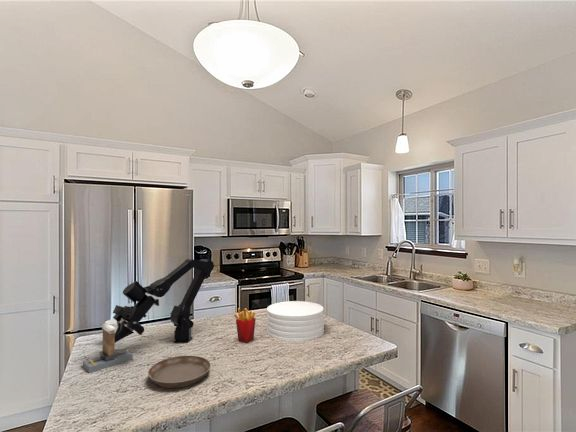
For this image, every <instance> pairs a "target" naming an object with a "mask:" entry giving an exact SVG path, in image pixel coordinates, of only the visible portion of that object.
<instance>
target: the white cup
mask: <svg viewBox="0 0 576 432" xmlns="http://www.w3.org/2000/svg"><path fill="white" fill-rule="evenodd" d="M117 322H118V321H116V320H115V319H114V318H111V319H108V320H106V321H105V322H104V323H108V324H110V325H112V326H113V327H115V332H116V330H117V328H118V326H117ZM121 343H122V344H123V343H124V338H123V339H121V340H119V341H117V342H115V346H119V345H121Z"/></svg>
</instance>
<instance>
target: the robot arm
mask: <svg viewBox="0 0 576 432" xmlns="http://www.w3.org/2000/svg"><path fill="white" fill-rule="evenodd" d="M193 268H194V272H195V273H194V277H193V278H192V280H191V283H190V285H189V286H188V288H187V290H186V291H185V292H186V293H185V294H184V297H183V298H182V300H181V302H180V304H178V305H174V306H173V308H172V310H171V312H170V313H169V314H170V316H169V319H170V321H171V323H172V324H173V326H174V327H175V330H174V341H173V343H177V344H179V343H181V344H182V343H184V344H185V343H186V344H187V343H190V341H191V340H192V339H193V336H192V328H193V327H194V324H195V322H194V321H193V320H191V319H190V316H191V308H192V305H193V304H194V301H195V298H197V295H198V293H199V291H200V289H201V287H202V285H203V282H204V281H205V279H206V278H207V277H209V275H211V273H212V272H213V270H214V268H215V265H214V262H213V260H211V259H202V258H201V259H199V260H196V259H193V258H187V259H185V260H184V261H183V262H182V263H181V264H180V265H178V266H177V267H176V268H175V269H174V270H172V271H171V272H170V273H168V274H167V275H166V276H164V277H162V278H160V279H157V280H155V281H154V282H152V283H150V284H149V285H147V286H144V287H143V286H142V285H141V284H140V283H139V281H137V280H134V281H133V282H132V283H130V284H128V285H127V286H126V287H125V288H124V289H123V291H122V295H124V296H125V297H126V298H127V299H128V300H130V301H131V302H133V303H135V302H136V304H134V306H133V305H131V306H127V305H124V306H120V305H118V304H116V305H115V307H114V309H113V310H112V311H113V312H112V313H113V314H114V316H113V317H112V319H115V320H116V321H118V322H117V326H118V328H117V330H116V332H115V342H117V341H119V340H121V339H123V340H124V339H125V338H126V337H128V336H130V335H132V334H133V335H134V331H135V332H136V333H137V334H138V335H140V336H142V334H143V333H144V332H145V327H144V326H143V325H141V324H140V321H141V320H142V319H143V318H144V319H145V318H147V313H148V312H149V311H150V310H151V308H152V307H153V306H156V307H159V306H160V299H158V298H162V297H164V296H165V295H166V294H168V292H170V291H169V290H170V289H171V287H172V285H174V284H175V283H176V282H177V281H178V280H179V279H181V278H182V277H184V275H185V274H187V273H188V272H189V271H190V270H192V269H193ZM155 297H156V298H155Z"/></svg>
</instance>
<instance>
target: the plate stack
mask: <svg viewBox="0 0 576 432" xmlns="http://www.w3.org/2000/svg"><path fill="white" fill-rule="evenodd" d="M324 311H325V310H324V307H323V306H322V305H321V304H319V303H315V302H311V301H303V300H292V301H291V300H290V301H281V302H276V303H272V304H270V305H268V306H267V308H266V323H267V325H266V333H267V335H269V337H271V338H273V339H276V340H279V341H287V342H304V341H311V340H315V339H318V338H320V337H321V336H323V335H324V332H325V328H324V327H325V326H324V325H325V323H324V321H325V318H324V317H325V316H324V315H325V314H324Z"/></svg>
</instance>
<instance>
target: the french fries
mask: <svg viewBox="0 0 576 432" xmlns="http://www.w3.org/2000/svg"><path fill="white" fill-rule="evenodd" d="M237 313H238V316H237V315H236V314H235V313H233V317H234V318H235V324H236V332H237V340H238V342H240V343H244V344H248V343H251V342H252V341H254V338H255V329H256V328H255V327H256V320H257V319H256V318H255V315H256V314H257V313H256V311H252V309H251V310H249V309H247V308H246V307H245V308H243V310H241V307H238V308H237Z"/></svg>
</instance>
